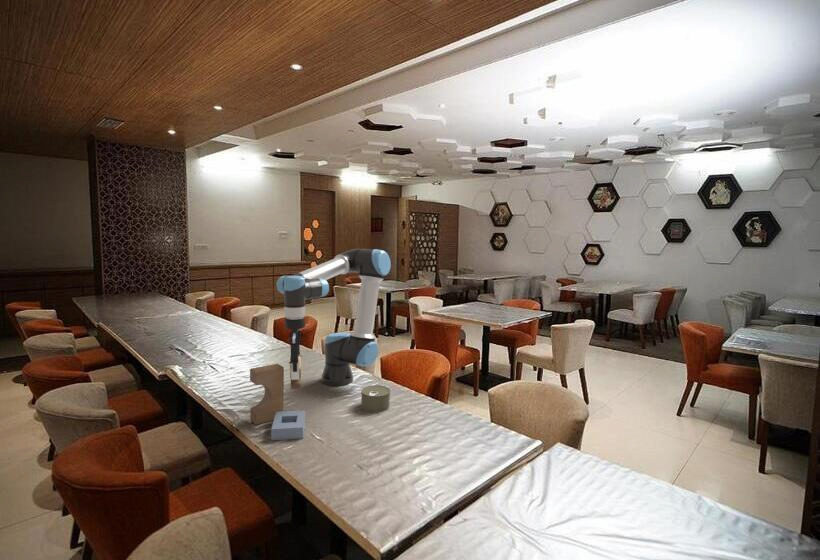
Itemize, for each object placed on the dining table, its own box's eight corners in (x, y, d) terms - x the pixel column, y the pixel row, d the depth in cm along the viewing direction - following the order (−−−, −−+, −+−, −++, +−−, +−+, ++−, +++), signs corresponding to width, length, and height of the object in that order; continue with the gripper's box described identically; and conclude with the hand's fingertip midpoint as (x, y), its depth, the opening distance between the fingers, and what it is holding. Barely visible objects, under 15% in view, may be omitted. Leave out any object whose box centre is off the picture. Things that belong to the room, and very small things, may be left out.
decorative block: (255, 425, 151) (254, 372, 149) (249, 419, 155) (249, 368, 153) (284, 417, 158) (284, 366, 156) (278, 412, 163) (278, 363, 160)
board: (305, 420, 156) (305, 410, 156) (303, 438, 143) (303, 427, 142) (276, 421, 154) (276, 411, 154) (271, 440, 141) (271, 429, 140)
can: (393, 403, 176) (394, 387, 175) (384, 414, 164) (384, 397, 164) (367, 399, 179) (367, 383, 178) (356, 410, 167) (356, 393, 167)
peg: (301, 385, 161) (301, 355, 160) (300, 389, 157) (300, 358, 156) (290, 385, 160) (290, 355, 159) (289, 389, 156) (289, 359, 155)
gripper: (286, 312, 163) (287, 369, 166) (282, 322, 146) (283, 385, 149) (306, 312, 164) (306, 369, 167) (303, 322, 148) (304, 384, 151)
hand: (295, 376), depth 158 cm, fingers closed on peg, 4 cm apart
